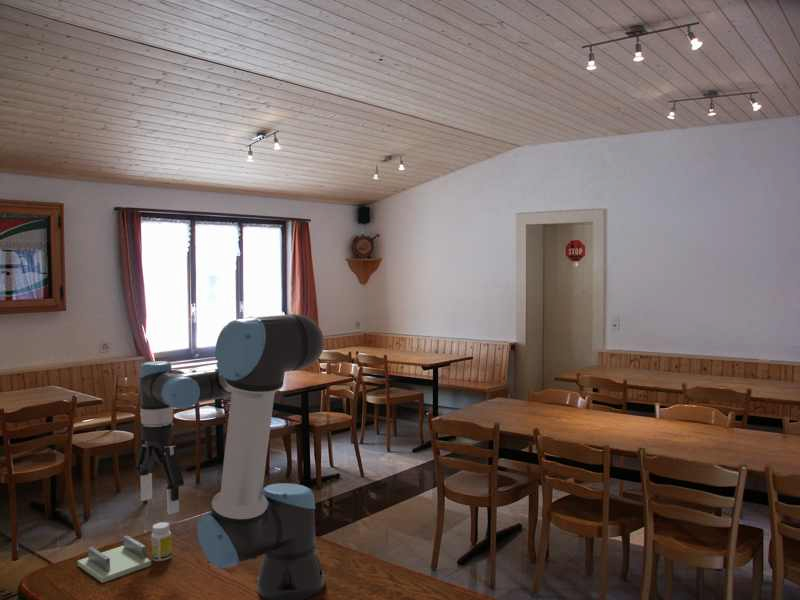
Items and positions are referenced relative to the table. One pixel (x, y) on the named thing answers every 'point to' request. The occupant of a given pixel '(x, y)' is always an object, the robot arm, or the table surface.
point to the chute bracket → (104, 561)
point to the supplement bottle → (161, 542)
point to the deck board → (115, 564)
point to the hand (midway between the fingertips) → (159, 506)
